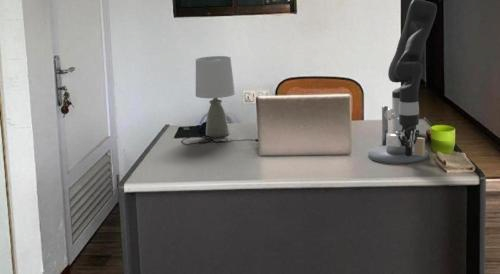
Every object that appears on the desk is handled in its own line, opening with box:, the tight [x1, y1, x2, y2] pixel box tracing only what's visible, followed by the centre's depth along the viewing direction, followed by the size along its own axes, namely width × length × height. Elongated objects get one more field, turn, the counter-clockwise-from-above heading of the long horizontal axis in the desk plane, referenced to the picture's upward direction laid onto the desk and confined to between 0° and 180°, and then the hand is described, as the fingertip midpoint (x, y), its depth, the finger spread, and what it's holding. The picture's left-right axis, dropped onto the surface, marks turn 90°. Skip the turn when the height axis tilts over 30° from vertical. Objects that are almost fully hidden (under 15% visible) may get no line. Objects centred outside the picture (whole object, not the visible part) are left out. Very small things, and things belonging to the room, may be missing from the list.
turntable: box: [367, 136, 429, 165], centre depth 311 cm, size 24×24×9 cm
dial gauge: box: [379, 105, 396, 146], centre depth 322 cm, size 8×10×18 cm
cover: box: [386, 131, 405, 155], centre depth 310 cm, size 10×10×8 cm
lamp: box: [195, 55, 235, 138], centre depth 362 cm, size 19×19×37 cm
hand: (408, 155), depth 299 cm, fingers closed
